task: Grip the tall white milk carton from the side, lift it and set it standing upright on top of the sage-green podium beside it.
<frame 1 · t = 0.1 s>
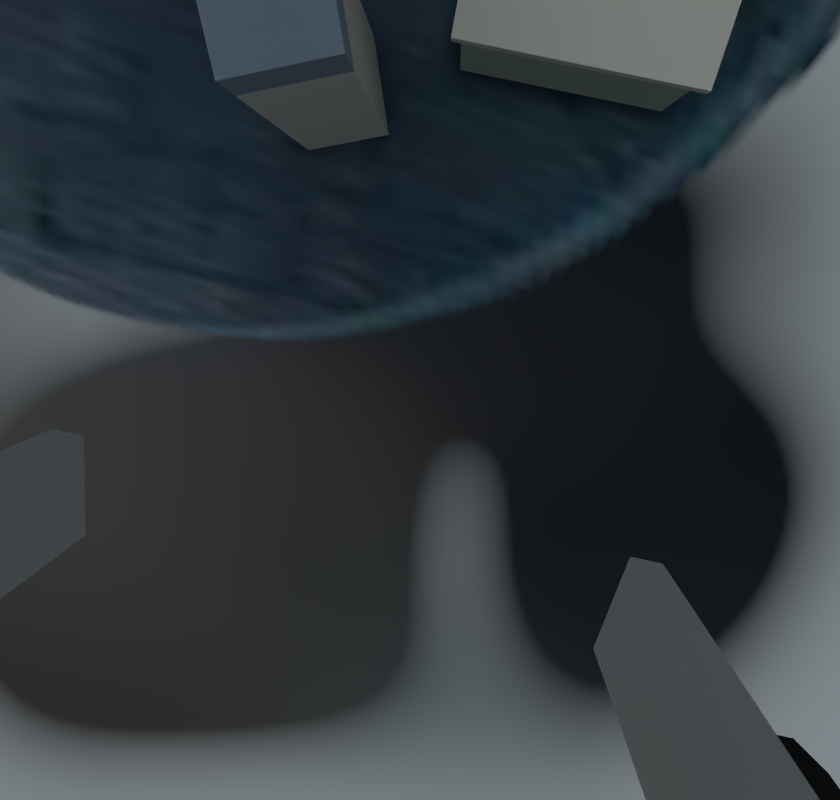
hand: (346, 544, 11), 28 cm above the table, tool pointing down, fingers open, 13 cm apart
milk carton: (340, 95, 33), on the table
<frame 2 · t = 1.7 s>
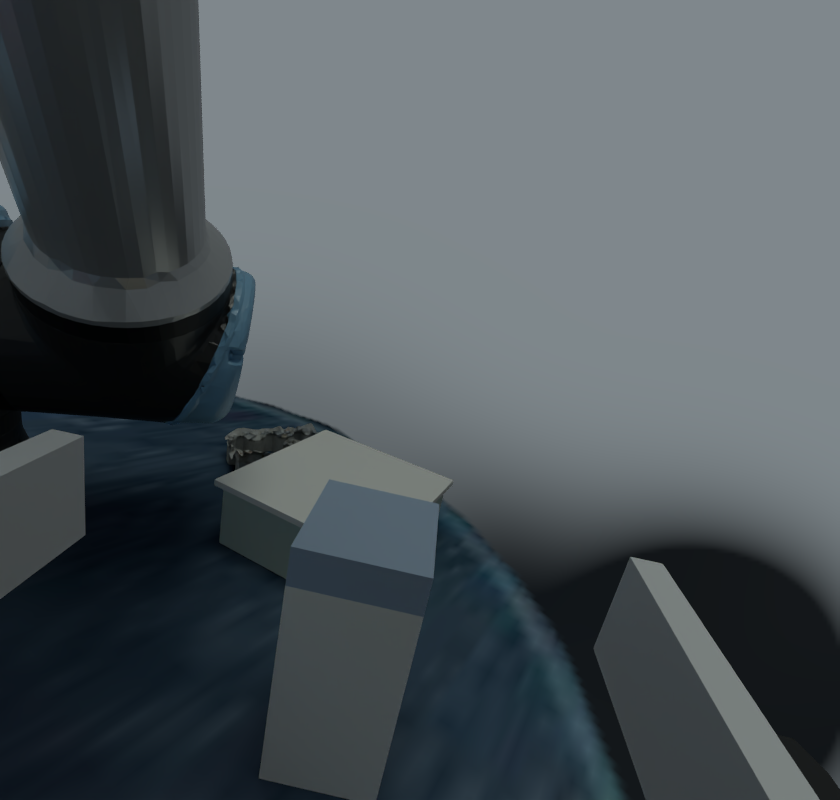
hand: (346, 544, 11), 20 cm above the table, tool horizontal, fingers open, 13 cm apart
podium: (336, 537, 43), on the table
milk carton: (332, 733, 26), on the table
egg carton: (276, 467, 54), on the table
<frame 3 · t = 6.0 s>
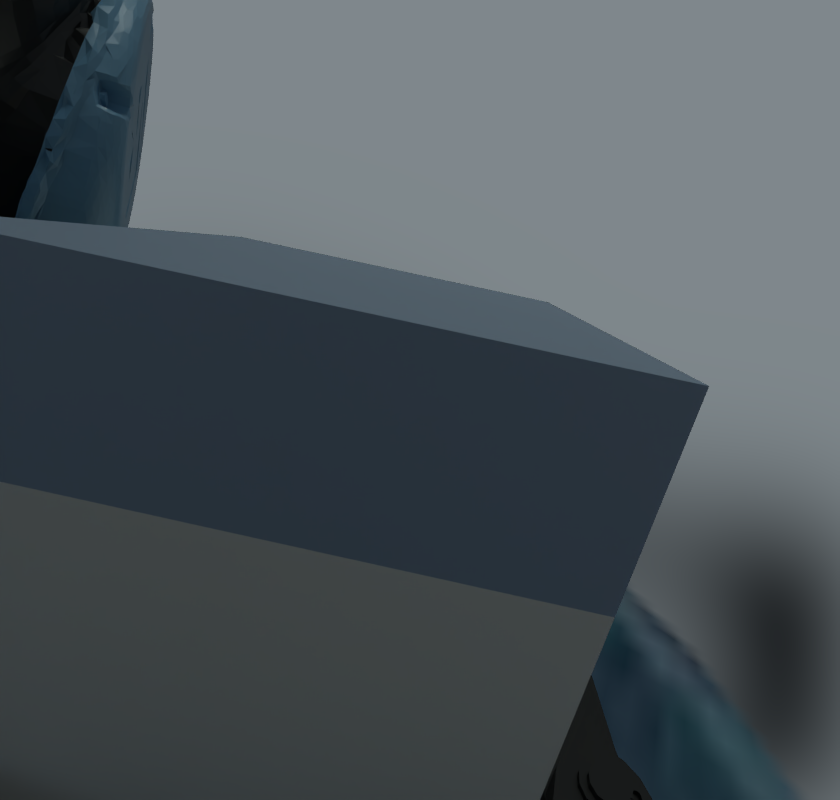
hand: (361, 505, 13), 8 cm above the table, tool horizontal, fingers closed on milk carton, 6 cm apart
when the fingers open (15 cm above the table, at t = 10.6 s): milk carton drops 1 cm, resting on podium.
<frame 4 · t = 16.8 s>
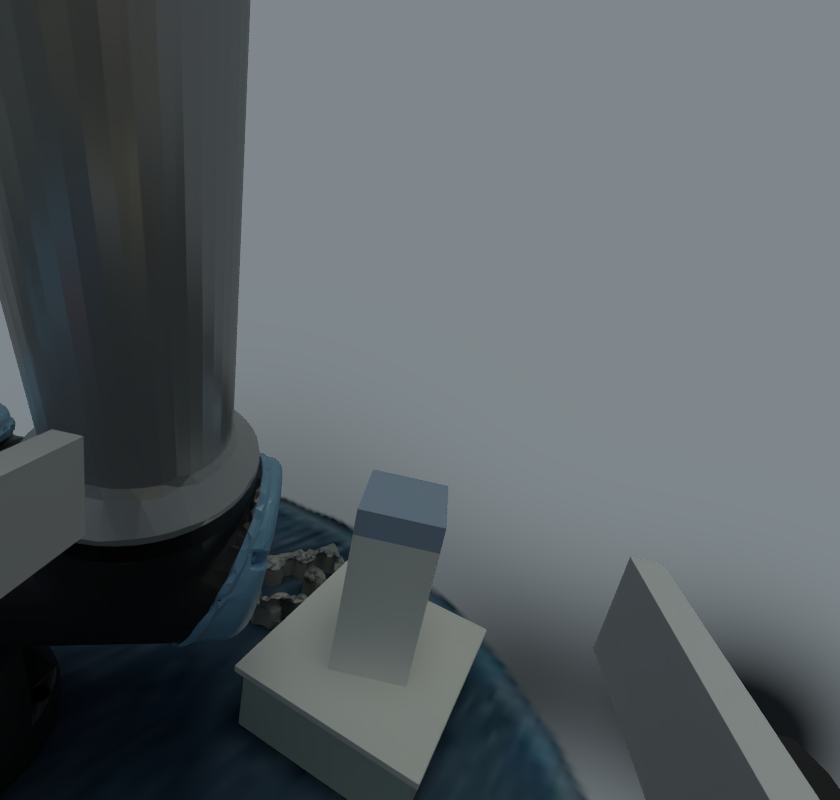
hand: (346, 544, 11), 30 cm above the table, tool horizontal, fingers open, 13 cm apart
podium: (362, 700, 40), on the table
milk carton: (373, 646, 38), point 6 cm above the table, touching podium
egg carton: (295, 598, 50), on the table
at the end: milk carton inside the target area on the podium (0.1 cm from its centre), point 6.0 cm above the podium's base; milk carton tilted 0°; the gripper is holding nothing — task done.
